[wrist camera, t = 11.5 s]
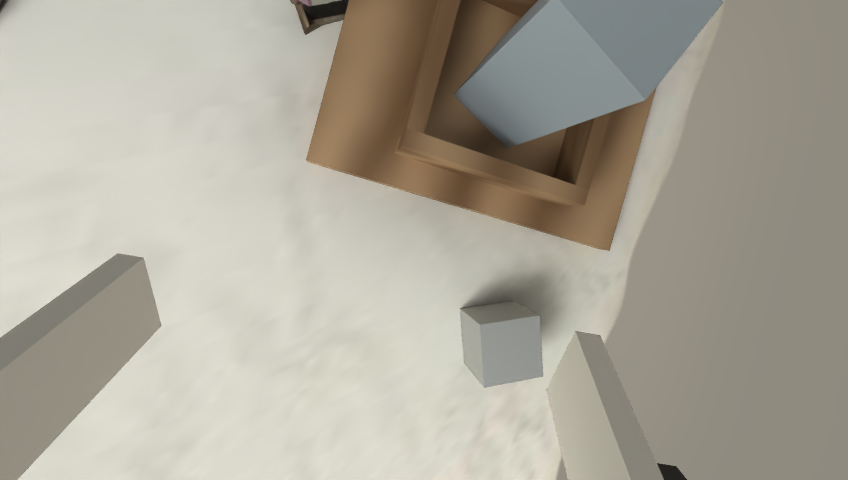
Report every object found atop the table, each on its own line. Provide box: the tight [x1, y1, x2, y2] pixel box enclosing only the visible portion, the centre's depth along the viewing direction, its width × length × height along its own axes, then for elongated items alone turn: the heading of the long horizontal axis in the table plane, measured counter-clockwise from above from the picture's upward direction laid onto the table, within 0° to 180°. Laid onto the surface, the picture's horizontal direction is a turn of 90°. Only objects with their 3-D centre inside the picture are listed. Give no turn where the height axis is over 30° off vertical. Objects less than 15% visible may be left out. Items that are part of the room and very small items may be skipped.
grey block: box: [460, 301, 543, 388], centre depth 26 cm, size 4×4×4 cm
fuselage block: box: [453, 0, 723, 148], centre depth 20 cm, size 5×5×12 cm
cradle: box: [306, 0, 656, 250], centre depth 25 cm, size 22×16×4 cm
